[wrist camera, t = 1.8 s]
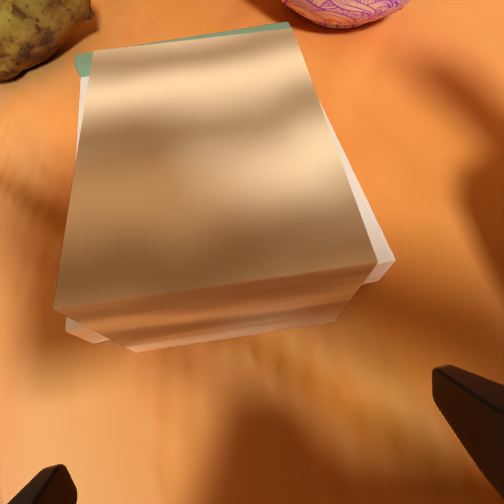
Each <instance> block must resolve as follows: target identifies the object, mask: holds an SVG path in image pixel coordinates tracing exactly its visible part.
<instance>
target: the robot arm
mask: <svg viewBox="0 0 504 504" xmlns="http://www.w3.org/2000/svg"><path fill="white" fill-rule="evenodd" d="M432 394H433V399H434V401H435V403H436V405H437V407H438V408H439V410H440V411H441V413H442V414H443V416H444V417H445V419H446V420H447V422H448V423H449V425H450V426H451V428H452V429H453V431H454V432H455V434H456V435H457V437H458V438H459V440H460V441H461V443H462V444H463V446H464V447H465V449H466V450H467V452H468V453H469V455H470V456H471V458H472V459H473V460H474V462H475V463H476V465H477V466H478V468H479V469H480V470H481V471H482V473H483V474H484V475H485V477H486V478H487V479H488V481H489V482H490V483H491V484H492V486H493V487H494V488H495V489H496V491H497V492H498V493H499V494H500V496H501V497H502V498H503V499H504V385H502V384H499V383H497V382H494V381H491V380H489V379H486V378H484V377H481V376H479V375H476V374H473V373H471V372H468V371H466V370H463V369H460V368H458V367H455V366H452V365H444V366H440V367H436V368H434V369H433V371H432ZM76 503H77V489H76V486H75V484H74V482H73V480H72V478H71V476H70V474H69V472H68V470H67V468H66V466H64V465H63V464H58V465H54V466H50V467H47V468H44V469H43V470H41V471H40V472H39V473H38V474H37V475H36V476H35V477H34V478H33V479H32V480H31V481H30V482H29V483H28V484H27V485H26V486H25V487H24V488H23V489H22V490H21V491H20V492H19V493H18V494H17V495H16V496H15V497H14V498H13V499H12V500H11V501H10V502H9V503H8V504H76Z"/></svg>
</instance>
